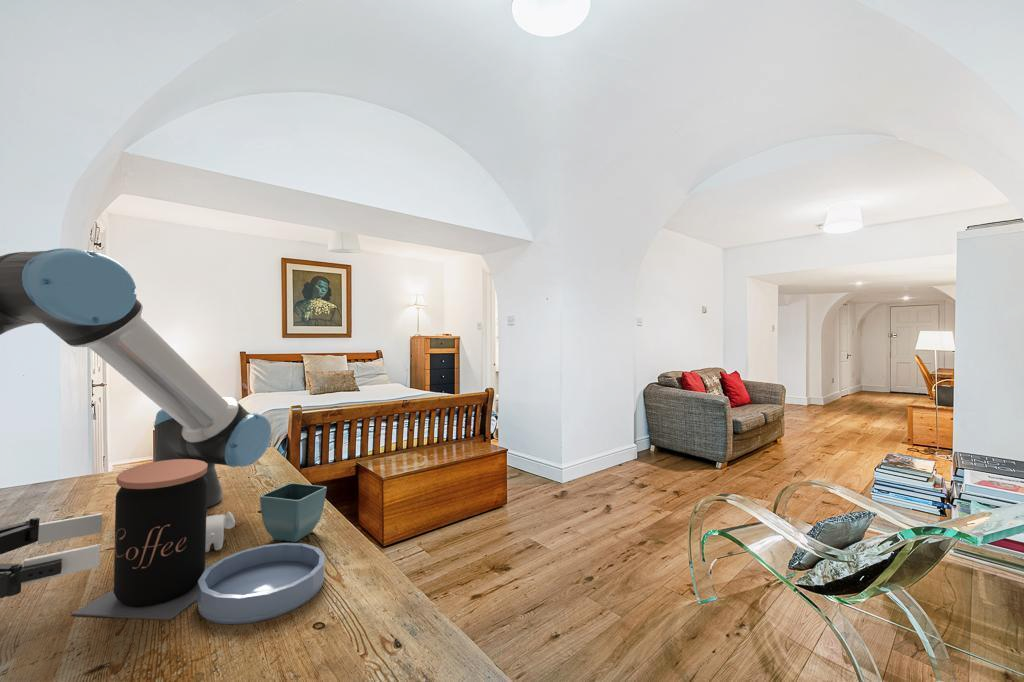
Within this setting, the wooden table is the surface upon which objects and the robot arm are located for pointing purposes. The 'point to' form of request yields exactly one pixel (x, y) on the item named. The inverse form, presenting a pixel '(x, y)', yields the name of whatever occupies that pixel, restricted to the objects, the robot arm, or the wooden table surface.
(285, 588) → the bowl
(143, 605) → the coffee jar
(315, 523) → the flower pot
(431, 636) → the wooden table surface
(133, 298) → the robot arm
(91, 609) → the mat
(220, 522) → the elephant figurine
